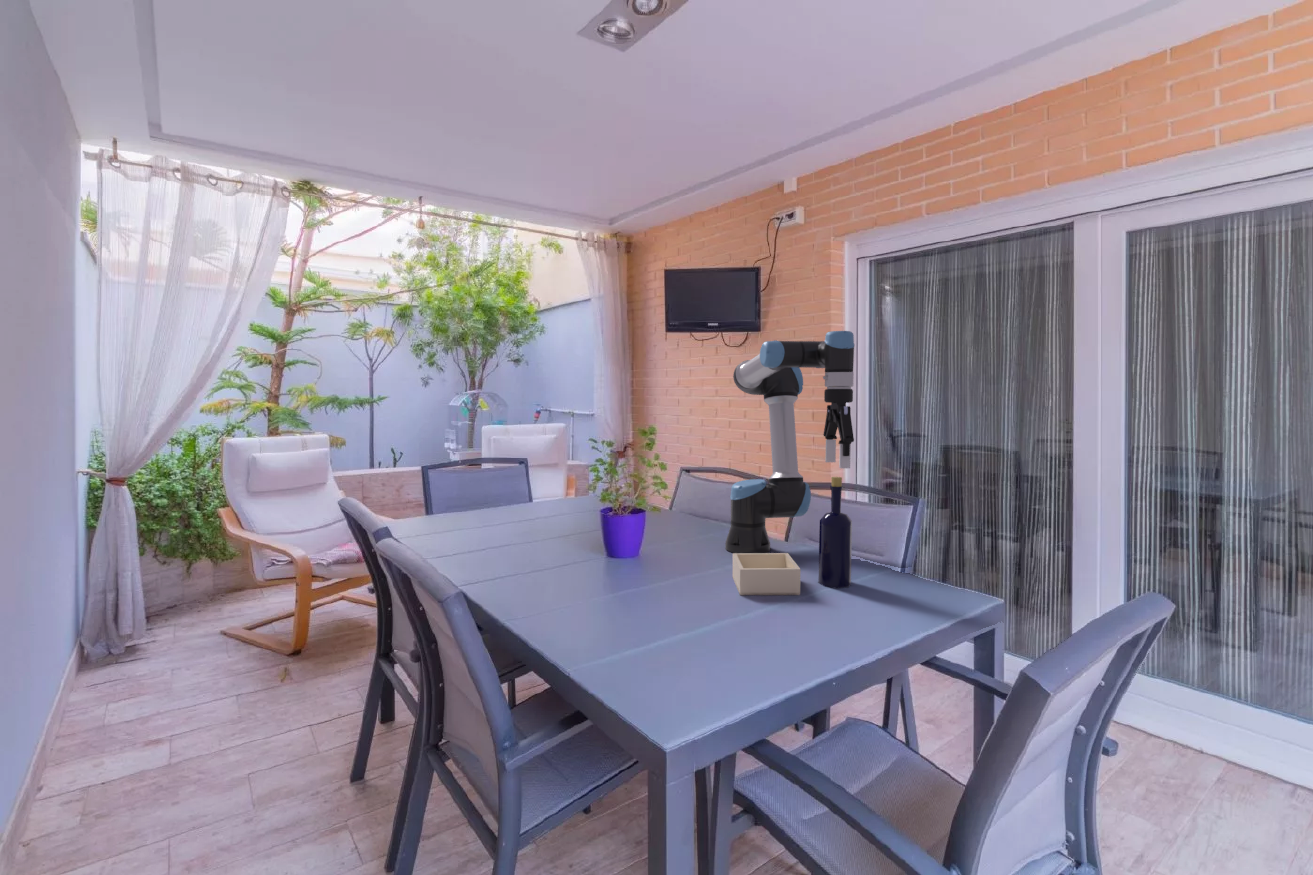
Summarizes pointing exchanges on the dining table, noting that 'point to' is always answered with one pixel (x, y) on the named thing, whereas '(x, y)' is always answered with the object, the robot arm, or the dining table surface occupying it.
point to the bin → (766, 574)
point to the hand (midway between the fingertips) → (837, 465)
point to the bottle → (835, 542)
